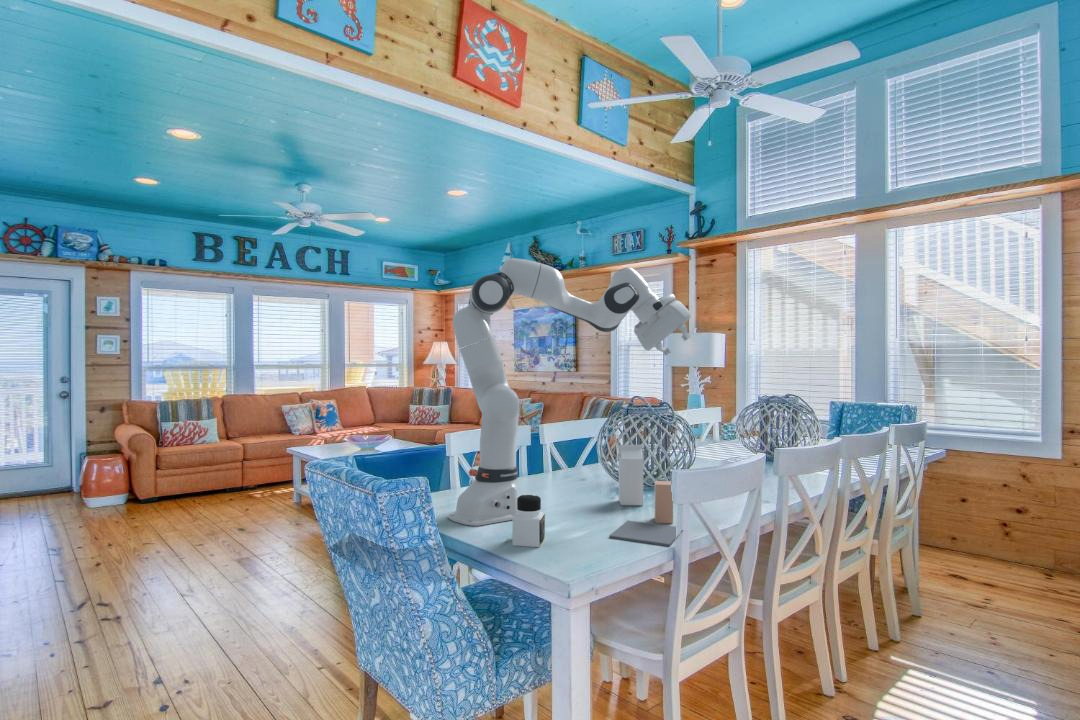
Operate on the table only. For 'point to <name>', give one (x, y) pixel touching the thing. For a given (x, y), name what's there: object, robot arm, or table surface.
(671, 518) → the tan upright wooden block
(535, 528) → the medicine bottle
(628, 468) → the milk carton
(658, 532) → the mat
